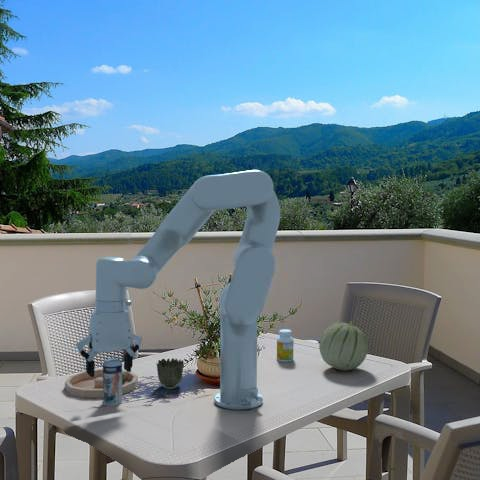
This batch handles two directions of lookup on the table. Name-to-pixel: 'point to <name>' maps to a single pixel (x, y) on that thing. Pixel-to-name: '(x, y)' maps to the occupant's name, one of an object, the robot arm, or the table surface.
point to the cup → (170, 372)
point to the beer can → (112, 381)
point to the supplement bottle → (285, 346)
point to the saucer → (95, 384)
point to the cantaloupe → (343, 346)
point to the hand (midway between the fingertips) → (109, 373)
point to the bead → (124, 377)
